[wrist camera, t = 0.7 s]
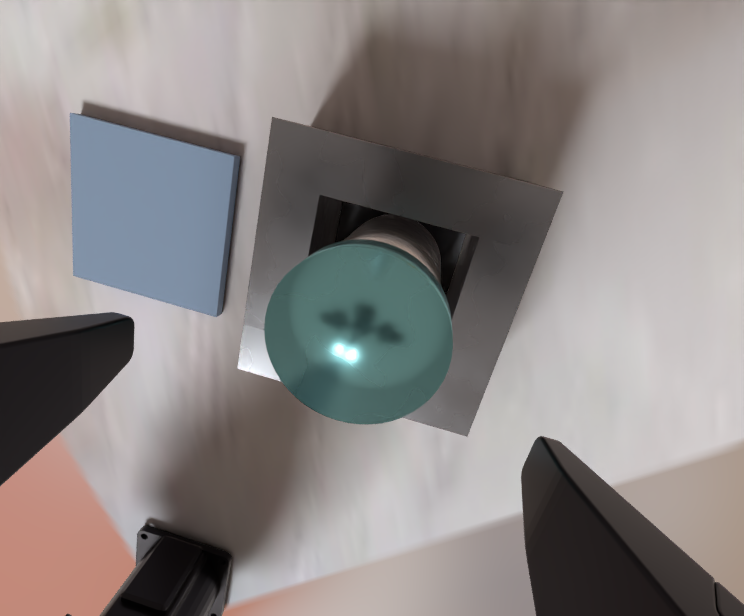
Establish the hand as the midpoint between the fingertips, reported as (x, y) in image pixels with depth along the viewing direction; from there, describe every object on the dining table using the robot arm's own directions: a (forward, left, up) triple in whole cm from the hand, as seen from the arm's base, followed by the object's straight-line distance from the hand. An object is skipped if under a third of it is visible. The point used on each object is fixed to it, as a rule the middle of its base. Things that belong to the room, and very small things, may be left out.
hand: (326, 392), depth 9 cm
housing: (0, 0, -12) cm, 12 cm away
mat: (-1, +12, -12) cm, 17 cm away
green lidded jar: (0, 0, -12) cm, 12 cm away
